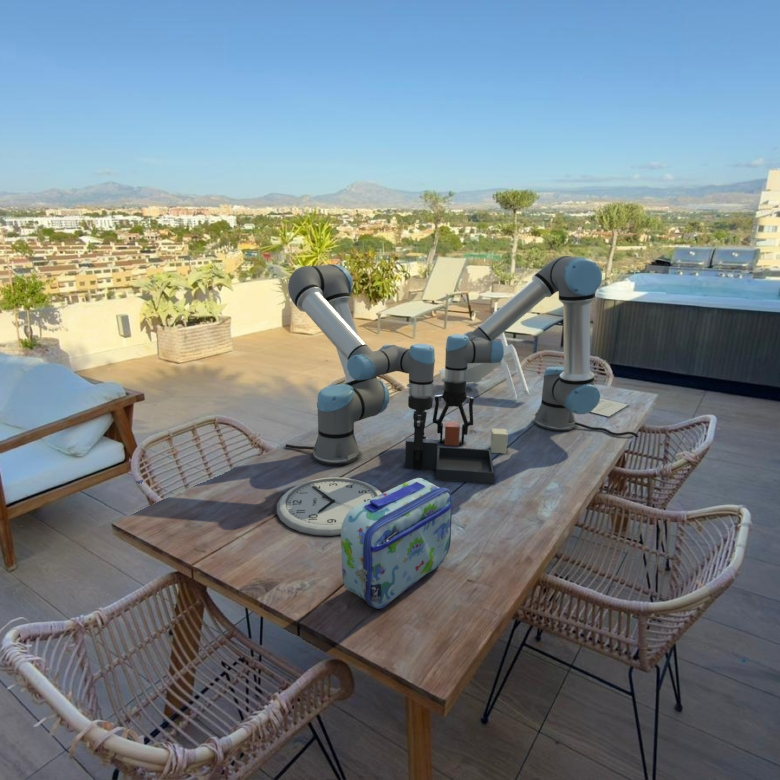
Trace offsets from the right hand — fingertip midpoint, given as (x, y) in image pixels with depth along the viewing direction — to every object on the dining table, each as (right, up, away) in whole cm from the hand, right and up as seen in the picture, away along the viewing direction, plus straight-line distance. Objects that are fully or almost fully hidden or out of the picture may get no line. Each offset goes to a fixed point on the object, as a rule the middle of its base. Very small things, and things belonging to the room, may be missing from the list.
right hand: (451, 442), depth 186 cm
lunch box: (-20, -23, -73) cm, 79 cm away
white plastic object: (+20, +17, +57) cm, 63 cm away
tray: (-4, -6, -20) cm, 21 cm away
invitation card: (+70, +11, +41) cm, 81 cm away
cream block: (+15, -2, -5) cm, 16 cm away
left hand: (-13, -5, -19) cm, 24 cm away
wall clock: (-38, -13, -43) cm, 59 cm away
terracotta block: (0, 0, 0) cm, 0 cm away
